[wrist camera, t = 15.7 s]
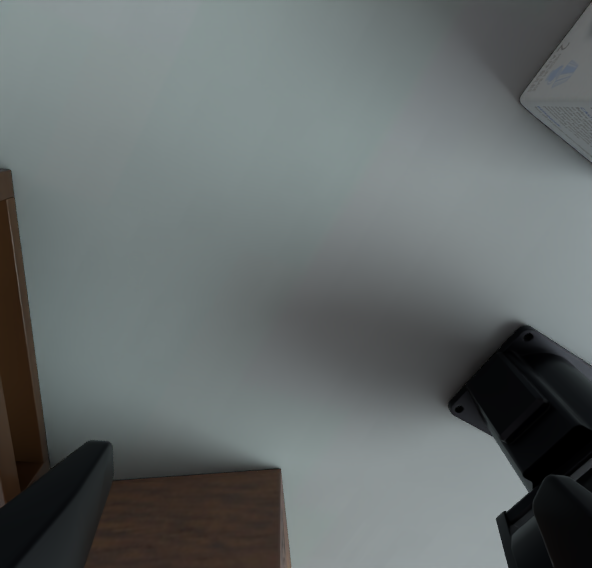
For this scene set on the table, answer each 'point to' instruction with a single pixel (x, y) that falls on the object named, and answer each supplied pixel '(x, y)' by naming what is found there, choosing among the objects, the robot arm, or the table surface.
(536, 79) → the light bulb box
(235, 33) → the table surface
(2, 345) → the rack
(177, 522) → the tissue box cover
